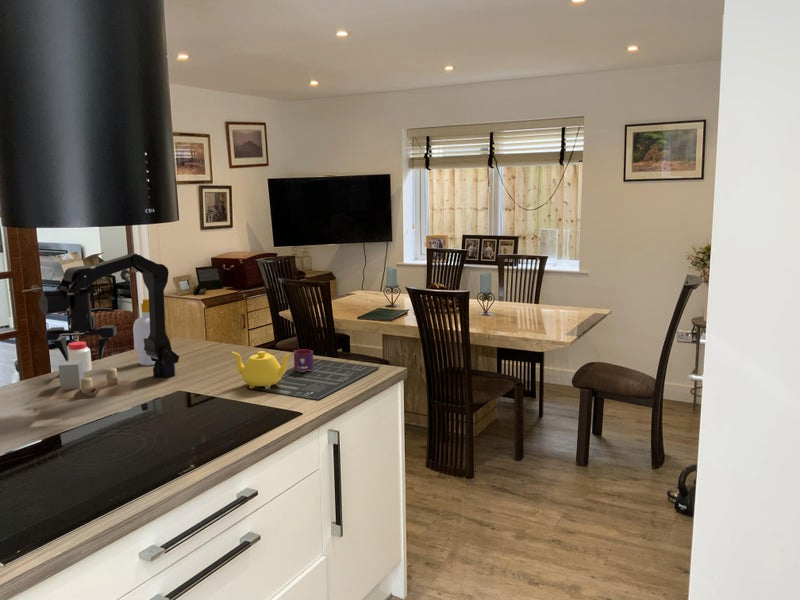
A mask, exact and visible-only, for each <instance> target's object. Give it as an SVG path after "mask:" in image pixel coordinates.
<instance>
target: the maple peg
mask: <svg viewBox="0 0 800 600" xmlns="http://www.w3.org/2000/svg"><path fill="white" fill-rule="evenodd" d="M92 382H93V378H92V377H84V378H82V379H81V394H84V393H93V385H92Z"/></svg>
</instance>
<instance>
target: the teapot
mask: <svg viewBox="0 0 800 600" xmlns="http://www.w3.org/2000/svg"><path fill="white" fill-rule="evenodd" d="M231 353H232V354H233V355H234V356H235V358H236V369H237V372H238V373H239V374H240V375H241V378H242V379H241V380H243V381H244V383H245V384H247V385H248V387H249V388H253V387H255V386H256V387H264V388H265V387H270V386H272V385H276V384H278V383H279V382H280V380H281V379H282V377H283V376H284V375H285V373H286V372H287V369H288V358H289V356H290V355H292V352H290V353H286V354H285V355H283V357H282V364H281V365H280V363H279V362H278V360H277V358H276V357H275V356H274V355H273V354H270V353H269V352H266V351H264V350H261V351H257V354H253V355H251V356H249V357H248V359H247V361H246V362H245V364H244V363H243V362H242V357H241V355H240V353H238V352H236V351H231ZM256 387H255V388H256Z"/></svg>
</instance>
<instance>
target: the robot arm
mask: <svg viewBox="0 0 800 600" xmlns="http://www.w3.org/2000/svg"><path fill="white" fill-rule="evenodd" d="M131 268H133V269H134V270H136V272H138V273H140V274H142V280H143V284H144V285H145V287H146V288H147V292H148V293H147V295H148V296H147V297H148V299H149V318H150V334H149V337H148V338H144V350H145V351H146V354H147V355H148V356H149V357H150V358H151V360H152V361H154V362H155V365H153V367H152V373H153V375H152V376H153V378H159V379H167V378H171V377H176V375H177V372H176V368H177V367H176V364H178V363H179V359H180V355H178V354H177V353H176V352H174V351H173V350H172V344H171V340H170V338H169V336H168V335H167V333H166V331H167V330H166V313H165V312H166V311H165V310H166V309H165V289H166V287H167V284H168V280H169V269H168V267H167V265H165V264H162V263H156V262H155V261H152V260H151V259H148V258H145V256H143V255H141V254H139V253H134V252H133V253H132V252H130V253H129V252H128V253H127V254H125V255H122V256H118V257H115V258H112V259H109V260H106V261H103V262H98V263H96V264H93V265H92V264H91V265H81V266H80V265H79V266H71V267H68V268H66V270H65V271H64V273H63V276H62V277H63V278H62V279H61V280H60V282H59V284H58V286H57V287H56V289H54V290H48V289H47V290H42V291H41V295H40V297H39V301H38V306H39V310H40V312H41V314H42V315H45V316H46V315H51V314H61V313H66V312H67V310H68V311H69V313H68V318H69V325H70V328H69V329H65V326H61V327H60V326H58V327H57V326H56V327H55V326H54V327H50V328H48V329H47V330H46V331H45V334H44V336H45V337H44V338H45V341H50V344H54V345H55V347H57V349H58V350H59V352H60V353H61V354H62V356H63V358H64V361H69V357H68V350H67V349H68V347H67V337H73V336H75V337H76V336H78V337H79V336H95V335H96V336H97V335H98V336H99V338H98V360H102V358H103V354H104V350H105V347H106V344H107V342H108V341H110V339H112V338H115V337H116V335H117V334H118V331H117V326H116V325H115V324H110V325H109V324H106V325H102V326H100V327H99V328H98V327H97V328H96V317H95V316H93V315H92V310H91V302H90V301H91V298H90V295H91V294H92V295H93V294H97V292H98V291H97V290H95V288H93V287H92V286H91V285H92V284H94V283H96V282H97V281H98V280H100V279H101V278H103V277H106V276H109V275H110V276H111V275H112V274H116V273H119V272H122V271H126V270H129V269H131Z"/></svg>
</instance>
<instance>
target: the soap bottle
mask: <svg viewBox="0 0 800 600" xmlns="http://www.w3.org/2000/svg"><path fill="white" fill-rule="evenodd" d="M140 307H141V316H140V317H138V318H137V319H135V320H134V323H133V324H132V325H133V327H132V332H133V333H132V334H133V347H134V351H135V352H138V361H139V364H140V365H141V366H145V367H147V366H148V367H149V366H155V362H154V361H152V360H151V358H150V357H149V356H148V355H147V354H146V351H145V350H144V338H148V337H149V334H150V318H149V298H143V299H142V303H140Z"/></svg>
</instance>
